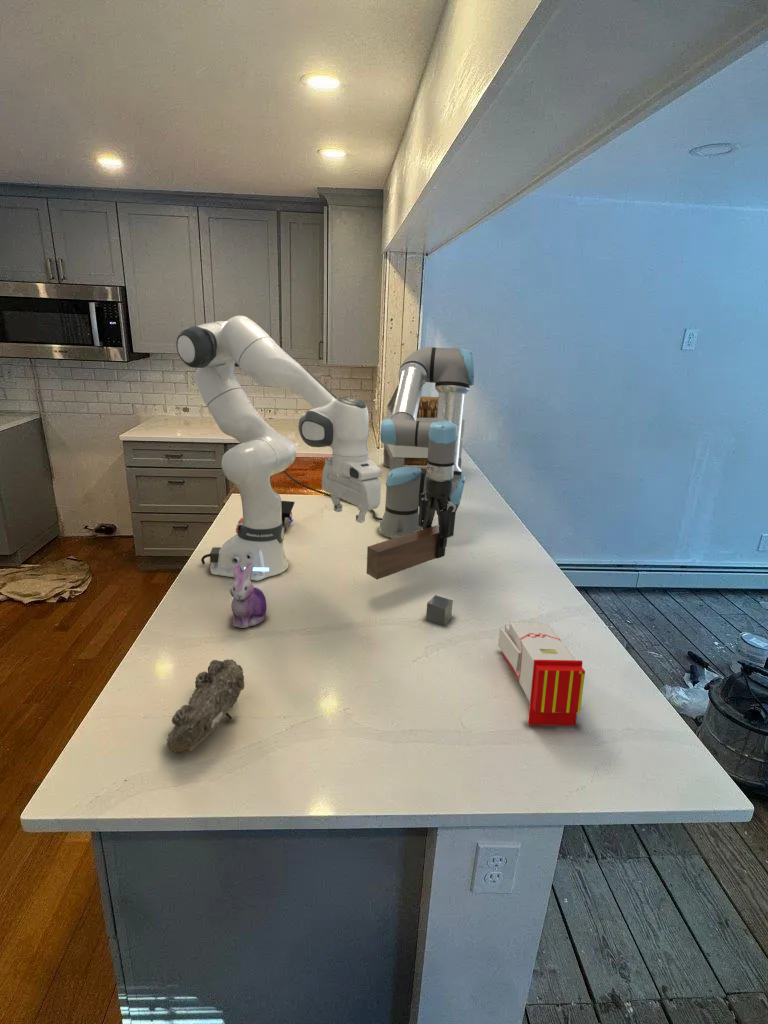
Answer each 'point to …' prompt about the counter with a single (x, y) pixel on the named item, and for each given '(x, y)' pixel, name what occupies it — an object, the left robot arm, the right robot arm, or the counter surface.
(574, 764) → the counter surface
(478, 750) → the counter surface
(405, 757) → the counter surface
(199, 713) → the fossil
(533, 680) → the toy
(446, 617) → the slate block
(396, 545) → the walnut plank
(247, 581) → the figurine
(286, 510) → the figurine character
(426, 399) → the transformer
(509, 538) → the counter surface
